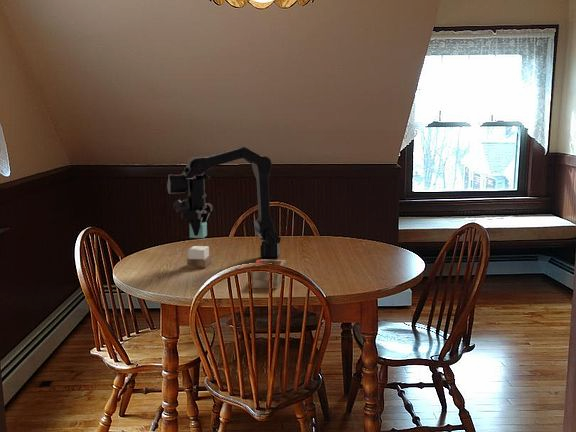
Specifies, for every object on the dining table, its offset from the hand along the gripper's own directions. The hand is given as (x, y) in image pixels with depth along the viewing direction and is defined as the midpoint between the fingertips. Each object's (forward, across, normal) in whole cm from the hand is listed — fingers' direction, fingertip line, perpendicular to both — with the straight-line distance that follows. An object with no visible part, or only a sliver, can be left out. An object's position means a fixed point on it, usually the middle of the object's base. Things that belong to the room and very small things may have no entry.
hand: (198, 233), depth 222 cm
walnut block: (+12, 0, 0) cm, 12 cm away
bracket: (+12, +16, +29) cm, 35 cm away
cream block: (+9, 0, 0) cm, 9 cm away
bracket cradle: (+12, +17, +30) cm, 36 cm away
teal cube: (+1, 0, 0) cm, 1 cm away
